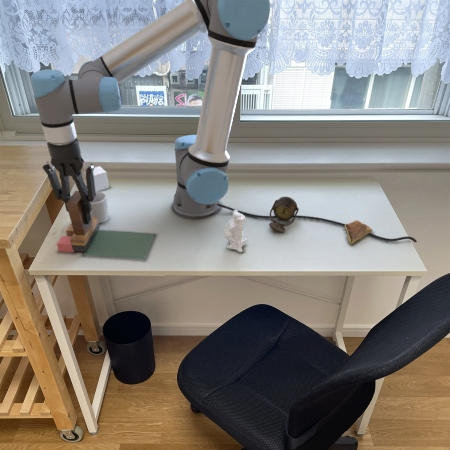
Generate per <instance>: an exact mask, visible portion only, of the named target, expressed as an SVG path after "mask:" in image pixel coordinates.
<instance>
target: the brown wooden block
mask: <svg viewBox="0 0 450 450" xmlns="http://www.w3.org/2000/svg"><path fill="white" fill-rule="evenodd" d="M70 196H71V197H70V199H69V200H68V202H67V203H66V205H67V209H68V216H69V219H70V224H72V227H73V230H74V234H73V236H72V237H71V239H70V242H71V245H72V249H73V251H75V252H85V251H87V250H88V248H89V246H90V245H91V243H92V241H93V239H94V237H95V236H96V234H97V232H98V230H99V231H100V223H98V219H97V217H92V216H91V212H90V216H91V221H90V222H89V224H85V220H84V215H83V211H82V207H81V202H82V198H81V196H80V193H79V191H78V190H74V192H73V193H72V194H71V195H70Z"/></svg>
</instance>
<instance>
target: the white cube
mask: <svg viewBox="0 0 450 450" xmlns="http://www.w3.org/2000/svg"><path fill="white" fill-rule="evenodd" d="M83 173H84V178H85V180H86V173H85V172H84V171H83ZM93 175H94V184H95V191H99V192H101V191H104V190H108V189H110V184H109V178H108V172H107V171H106V170H105V169H104V168H103V167H102V166H100V165H98V166H95V167H94V171H93ZM85 182H86V181H85ZM85 184H87V182H86V183H85Z"/></svg>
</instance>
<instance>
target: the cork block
mask: <svg viewBox="0 0 450 450" xmlns="http://www.w3.org/2000/svg"><path fill="white" fill-rule="evenodd" d="M65 234H66V236H70V237H72V236H73V234H74V230H73V227H72V223H69V225H68V226H67V228H66V229H65Z"/></svg>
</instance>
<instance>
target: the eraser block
mask: <svg viewBox="0 0 450 450" xmlns="http://www.w3.org/2000/svg"><path fill="white" fill-rule="evenodd" d="M70 239H71V237H70V236H67V235H62V236H61V237H60V238H59V240H58V241H57V243H56V246H57V250H58V252H63V253H75V252H76V251H73V249H72V245H71V242H70Z"/></svg>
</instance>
